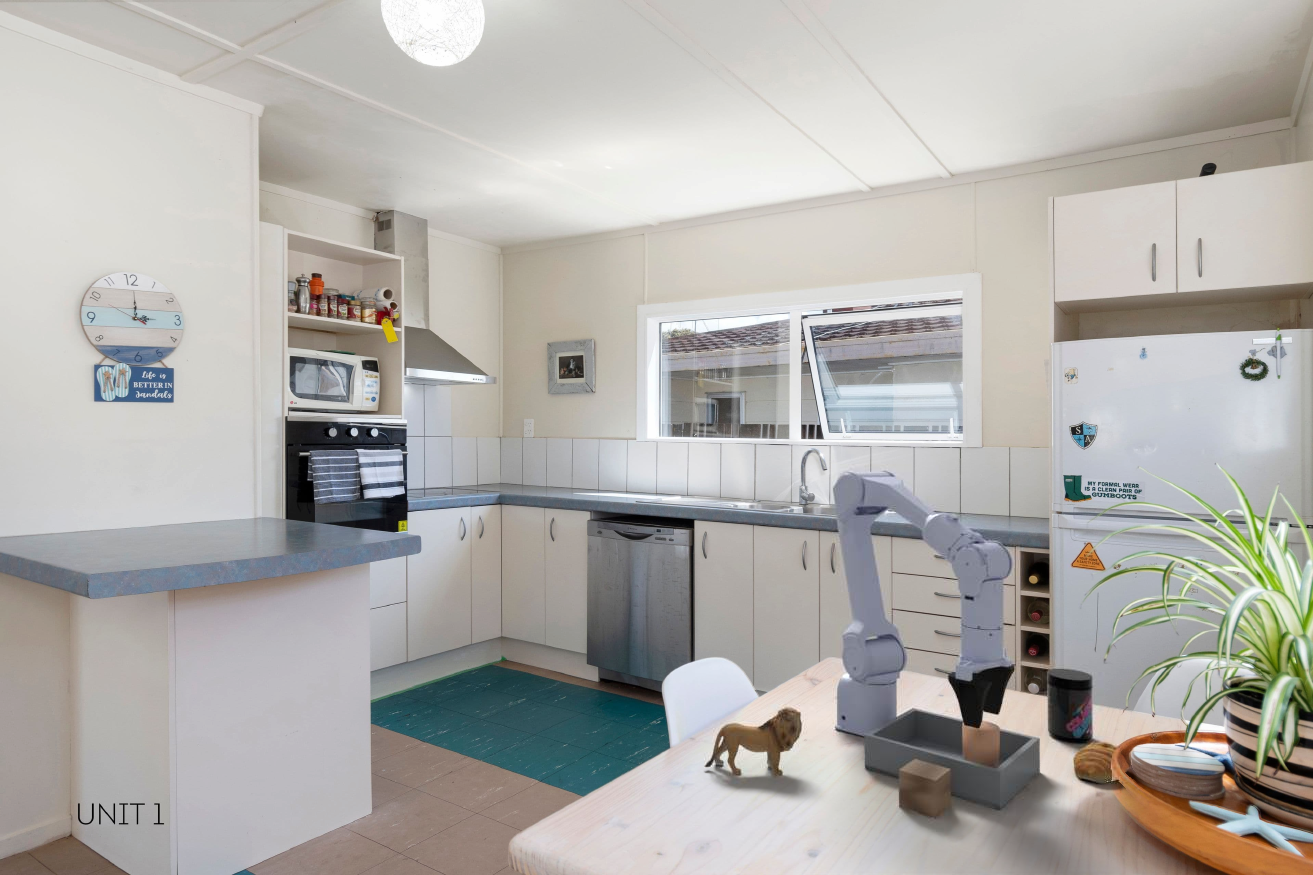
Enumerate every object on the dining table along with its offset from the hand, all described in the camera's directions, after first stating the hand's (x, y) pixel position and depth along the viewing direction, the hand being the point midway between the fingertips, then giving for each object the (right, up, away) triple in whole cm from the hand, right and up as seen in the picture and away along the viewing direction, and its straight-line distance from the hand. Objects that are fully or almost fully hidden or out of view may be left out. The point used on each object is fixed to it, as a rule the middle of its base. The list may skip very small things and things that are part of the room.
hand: (982, 719), depth 112 cm
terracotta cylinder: (0, -8, 0) cm, 8 cm away
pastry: (+19, -9, +2) cm, 21 cm away
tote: (-3, -9, +3) cm, 10 cm away
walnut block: (-11, -9, -9) cm, 17 cm away
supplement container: (+22, -9, +17) cm, 29 cm away
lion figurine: (-32, -9, +4) cm, 34 cm away
